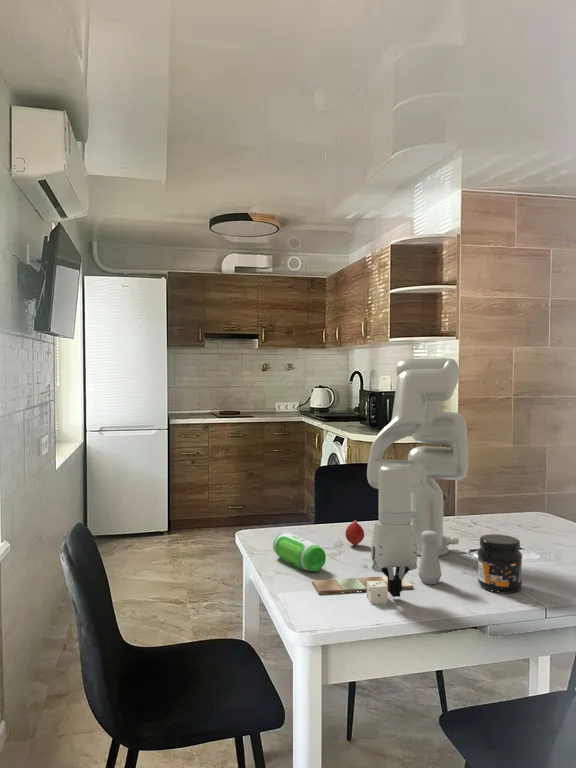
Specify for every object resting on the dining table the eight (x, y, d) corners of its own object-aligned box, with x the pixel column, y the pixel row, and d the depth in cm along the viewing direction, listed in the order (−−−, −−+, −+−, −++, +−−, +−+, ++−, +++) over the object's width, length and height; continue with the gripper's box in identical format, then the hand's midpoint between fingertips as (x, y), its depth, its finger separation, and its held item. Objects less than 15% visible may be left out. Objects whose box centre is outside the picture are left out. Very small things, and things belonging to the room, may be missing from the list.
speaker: (327, 571, 161) (327, 543, 161) (305, 576, 157) (305, 547, 157) (292, 554, 175) (292, 529, 175) (271, 559, 172) (271, 533, 171)
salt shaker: (428, 587, 148) (428, 535, 147) (413, 580, 153) (413, 530, 152) (446, 583, 150) (446, 532, 150) (431, 576, 155) (431, 527, 155)
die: (383, 597, 141) (383, 579, 141) (387, 603, 137) (387, 586, 137) (366, 597, 141) (366, 580, 141) (370, 604, 137) (370, 586, 137)
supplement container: (470, 587, 147) (470, 539, 147) (487, 576, 156) (487, 531, 155) (513, 597, 141) (513, 547, 141) (528, 585, 149) (528, 538, 149)
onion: (343, 547, 183) (343, 521, 183) (348, 542, 188) (348, 517, 188) (361, 549, 181) (361, 523, 181) (366, 544, 186) (366, 518, 186)
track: (402, 578, 154) (402, 575, 154) (413, 588, 147) (413, 585, 147) (312, 583, 151) (312, 580, 151) (318, 594, 143) (318, 591, 143)
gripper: (418, 512, 144) (418, 587, 144) (359, 515, 142) (359, 591, 142) (430, 520, 137) (430, 598, 137) (368, 522, 134) (368, 602, 135)
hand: (394, 594), depth 140 cm, fingers closed
